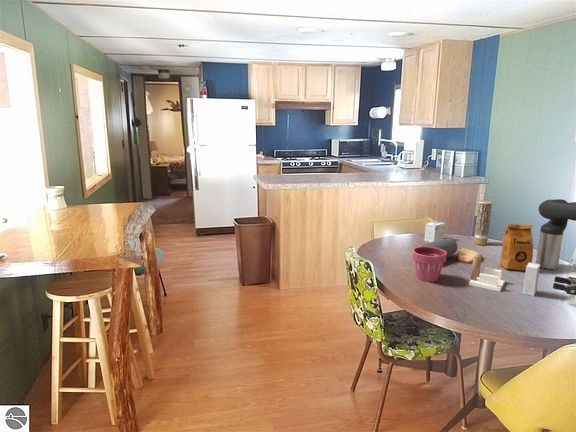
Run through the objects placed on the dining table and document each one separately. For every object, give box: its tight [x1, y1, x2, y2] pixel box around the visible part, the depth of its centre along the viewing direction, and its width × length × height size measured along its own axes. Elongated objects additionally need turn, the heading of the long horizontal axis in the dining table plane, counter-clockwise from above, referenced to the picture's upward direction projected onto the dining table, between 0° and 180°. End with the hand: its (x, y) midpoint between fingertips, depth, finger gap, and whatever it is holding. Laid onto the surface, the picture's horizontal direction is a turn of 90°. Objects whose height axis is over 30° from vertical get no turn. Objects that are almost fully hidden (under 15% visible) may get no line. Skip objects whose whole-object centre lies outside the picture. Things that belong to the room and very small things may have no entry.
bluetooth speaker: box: [420, 238, 458, 258], centre depth 204 cm, size 23×9×10 cm, turn 126°
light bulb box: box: [424, 220, 446, 243], centre depth 238 cm, size 11×7×11 cm, turn 130°
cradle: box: [468, 253, 506, 292], centre depth 173 cm, size 12×12×12 cm
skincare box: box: [522, 262, 541, 297], centre depth 164 cm, size 6×4×12 cm
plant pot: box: [412, 246, 448, 283], centre depth 179 cm, size 14×14×13 cm
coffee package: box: [499, 223, 534, 272], centre depth 191 cm, size 10×12×22 cm
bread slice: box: [455, 247, 480, 265], centre depth 209 cm, size 18×18×4 cm
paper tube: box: [474, 200, 493, 246], centre depth 230 cm, size 7×7×25 cm
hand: (553, 282), depth 159 cm, fingers open, 8 cm apart
